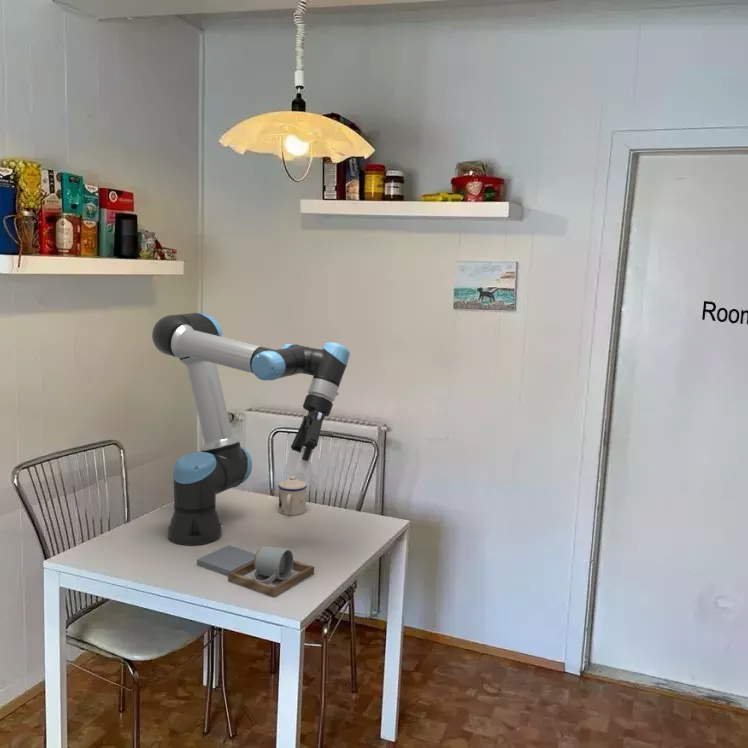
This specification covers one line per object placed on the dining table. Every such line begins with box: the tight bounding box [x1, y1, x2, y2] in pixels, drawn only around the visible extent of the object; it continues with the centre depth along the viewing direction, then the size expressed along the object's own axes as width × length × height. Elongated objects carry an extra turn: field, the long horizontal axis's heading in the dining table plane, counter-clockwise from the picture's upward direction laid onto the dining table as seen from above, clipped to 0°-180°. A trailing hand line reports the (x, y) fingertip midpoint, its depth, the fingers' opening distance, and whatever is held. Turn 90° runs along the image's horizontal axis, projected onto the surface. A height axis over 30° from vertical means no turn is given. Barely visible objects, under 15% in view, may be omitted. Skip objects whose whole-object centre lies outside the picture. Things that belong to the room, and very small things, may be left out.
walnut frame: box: [227, 559, 315, 598], centre depth 185 cm, size 15×16×2 cm
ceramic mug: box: [252, 546, 294, 585], centre depth 185 cm, size 11×8×8 cm
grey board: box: [196, 544, 256, 577], centre depth 193 cm, size 12×12×2 cm
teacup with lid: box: [278, 475, 308, 516], centre depth 231 cm, size 12×9×12 cm
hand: (293, 473), depth 190 cm, fingers open, 13 cm apart
